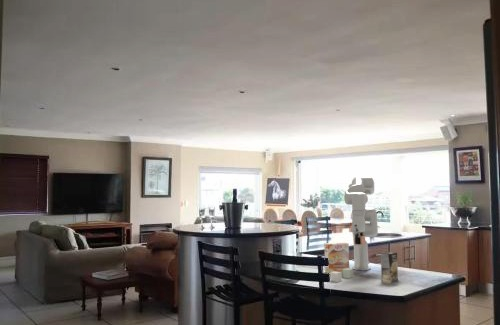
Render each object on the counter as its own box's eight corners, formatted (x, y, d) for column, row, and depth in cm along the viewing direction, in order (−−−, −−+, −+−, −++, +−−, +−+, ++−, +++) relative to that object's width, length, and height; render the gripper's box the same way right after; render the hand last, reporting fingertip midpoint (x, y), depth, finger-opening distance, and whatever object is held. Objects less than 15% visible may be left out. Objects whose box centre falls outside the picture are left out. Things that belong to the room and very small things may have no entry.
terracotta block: (357, 243, 260) (357, 235, 260) (365, 244, 257) (365, 236, 257) (354, 244, 256) (353, 236, 256) (362, 245, 253) (361, 236, 253)
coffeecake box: (328, 274, 278) (327, 244, 280) (324, 272, 285) (323, 243, 286) (350, 273, 281) (348, 243, 282) (345, 271, 288) (344, 242, 289)
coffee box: (391, 281, 251) (390, 254, 253) (381, 280, 256) (380, 253, 257) (398, 279, 258) (397, 252, 259) (388, 277, 262) (387, 251, 264)
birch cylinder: (384, 281, 250) (383, 273, 251) (392, 282, 247) (392, 274, 248) (381, 283, 246) (380, 274, 247) (389, 284, 243) (389, 275, 244)
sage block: (345, 275, 271) (345, 268, 272) (353, 276, 268) (352, 268, 269) (342, 277, 267) (342, 269, 268) (350, 278, 264) (349, 269, 265)
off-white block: (334, 279, 260) (333, 271, 260) (341, 280, 257) (341, 272, 257) (330, 281, 256) (330, 272, 256) (338, 281, 253) (337, 273, 253)
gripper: (358, 212, 267) (359, 241, 265) (347, 213, 253) (348, 244, 251) (369, 212, 262) (371, 242, 261) (359, 214, 248) (360, 245, 247)
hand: (359, 243), depth 256 cm, fingers closed on terracotta block, 5 cm apart
